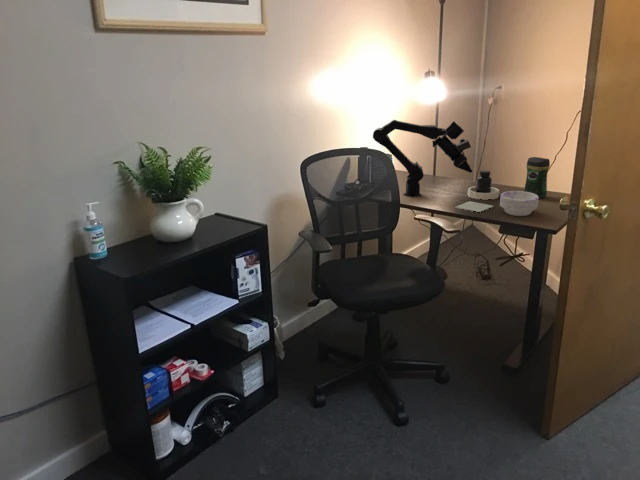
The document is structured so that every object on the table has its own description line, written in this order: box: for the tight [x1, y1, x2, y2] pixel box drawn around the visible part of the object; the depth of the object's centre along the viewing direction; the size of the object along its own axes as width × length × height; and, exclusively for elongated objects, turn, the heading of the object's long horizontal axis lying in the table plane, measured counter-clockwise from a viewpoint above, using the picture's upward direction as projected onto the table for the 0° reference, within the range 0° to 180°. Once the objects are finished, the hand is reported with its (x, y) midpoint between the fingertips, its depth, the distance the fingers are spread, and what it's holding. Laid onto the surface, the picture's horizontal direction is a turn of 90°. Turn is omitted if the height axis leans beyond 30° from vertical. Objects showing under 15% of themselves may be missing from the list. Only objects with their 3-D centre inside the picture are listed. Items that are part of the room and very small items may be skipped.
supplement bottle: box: [475, 169, 493, 193], centre depth 248 cm, size 7×7×12 cm
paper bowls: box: [499, 190, 540, 217], centre depth 221 cm, size 15×15×8 cm
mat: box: [454, 201, 494, 213], centre depth 232 cm, size 12×12×1 cm
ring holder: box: [466, 185, 500, 201], centre depth 250 cm, size 14×14×3 cm
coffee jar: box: [523, 156, 551, 200], centre depth 242 cm, size 10×8×19 cm
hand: (470, 169), depth 247 cm, fingers open, 9 cm apart
